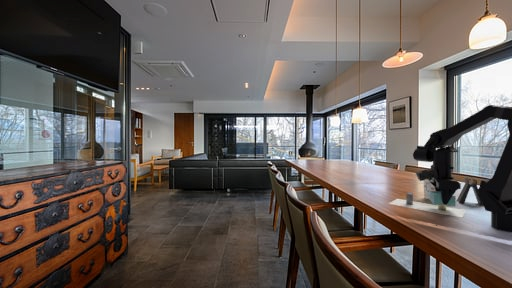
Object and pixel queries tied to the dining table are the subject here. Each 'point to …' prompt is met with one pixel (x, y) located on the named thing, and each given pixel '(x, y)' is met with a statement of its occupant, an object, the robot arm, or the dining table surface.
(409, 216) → the dining table surface
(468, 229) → the dining table surface
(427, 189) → the ink cartridge box
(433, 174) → the robot arm
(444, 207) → the cylinder
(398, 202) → the board
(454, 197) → the collar
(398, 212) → the dining table surface
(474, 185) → the phone stand
